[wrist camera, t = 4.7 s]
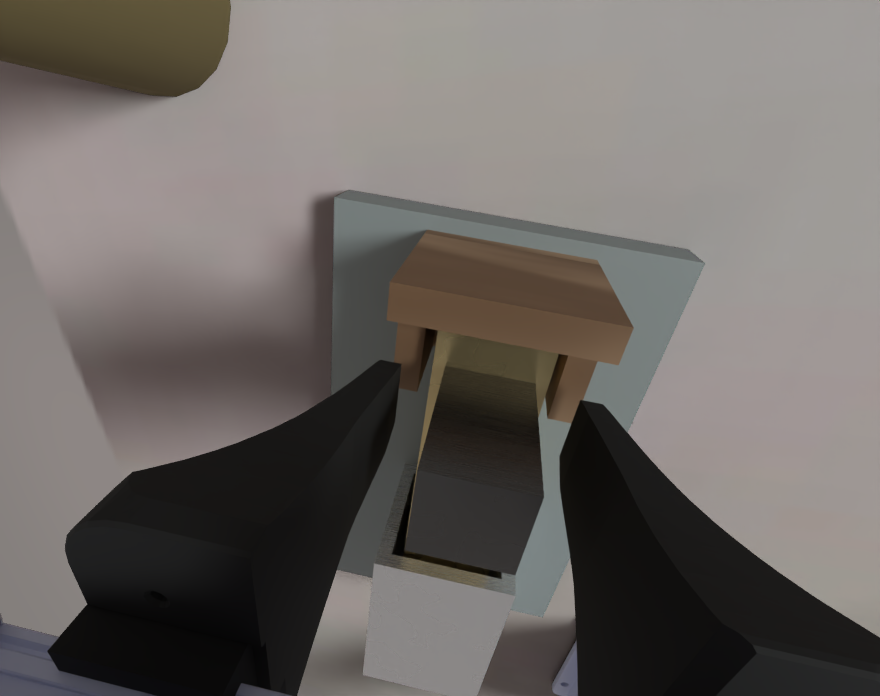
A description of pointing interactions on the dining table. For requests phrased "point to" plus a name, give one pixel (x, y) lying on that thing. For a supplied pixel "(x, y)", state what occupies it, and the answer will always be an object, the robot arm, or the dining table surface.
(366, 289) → the slate board
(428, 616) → the aluminium sleeve
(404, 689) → the dining table surface
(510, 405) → the brushed brass bar
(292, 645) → the robot arm
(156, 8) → the olive green pawn
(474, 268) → the walnut socket
